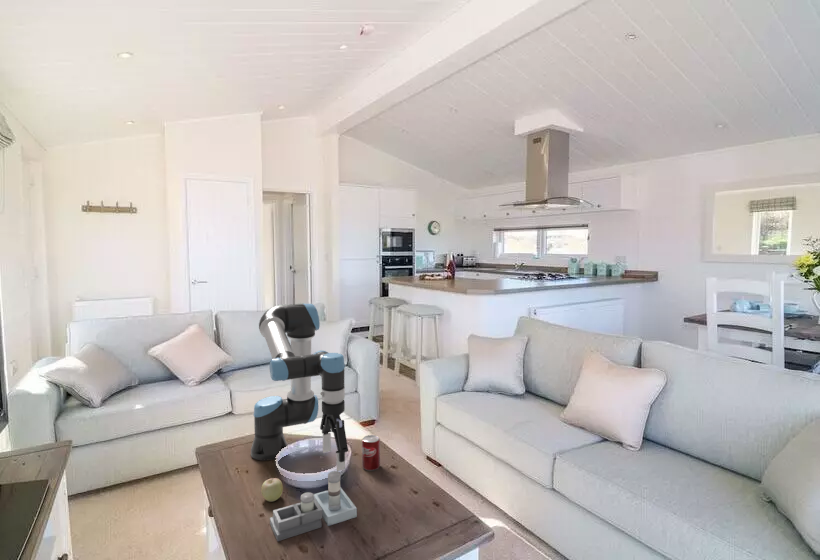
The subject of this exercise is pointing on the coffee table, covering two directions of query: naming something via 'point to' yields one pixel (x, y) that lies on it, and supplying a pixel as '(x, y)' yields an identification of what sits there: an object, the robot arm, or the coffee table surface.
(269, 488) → the fruit
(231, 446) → the coffee table surface
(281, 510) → the block
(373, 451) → the soda can
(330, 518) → the tray
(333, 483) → the cylinder
